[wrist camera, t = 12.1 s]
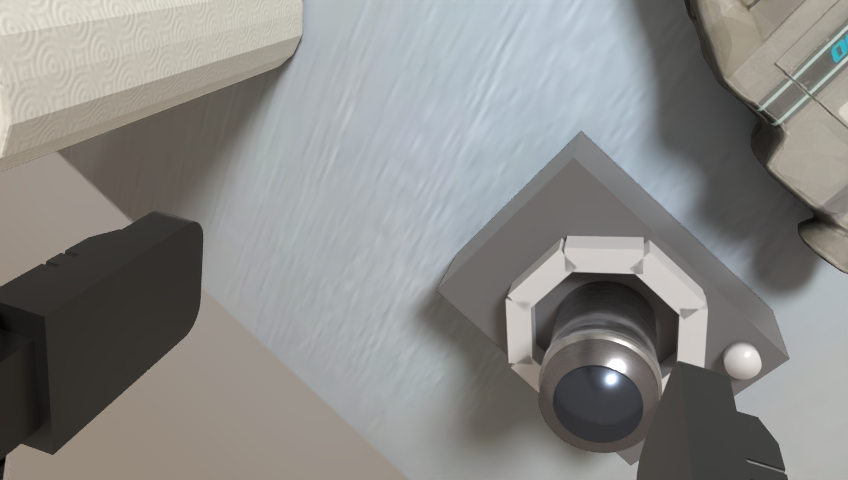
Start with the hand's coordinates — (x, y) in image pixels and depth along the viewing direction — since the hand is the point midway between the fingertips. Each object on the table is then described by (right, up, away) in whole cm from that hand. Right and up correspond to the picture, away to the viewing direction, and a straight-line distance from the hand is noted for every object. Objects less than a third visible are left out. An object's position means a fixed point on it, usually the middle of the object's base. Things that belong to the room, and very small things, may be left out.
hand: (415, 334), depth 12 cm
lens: (+9, -3, +24) cm, 26 cm away
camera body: (+10, -1, +29) cm, 31 cm away
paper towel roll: (-9, +14, +28) cm, 33 cm away
